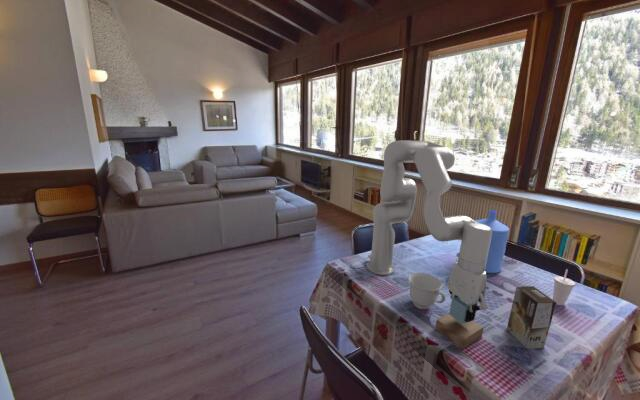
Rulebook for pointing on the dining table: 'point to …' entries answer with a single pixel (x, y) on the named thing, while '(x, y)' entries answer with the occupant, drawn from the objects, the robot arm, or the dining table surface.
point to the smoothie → (562, 289)
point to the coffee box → (531, 316)
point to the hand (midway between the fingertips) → (461, 314)
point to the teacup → (425, 290)
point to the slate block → (459, 309)
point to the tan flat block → (459, 330)
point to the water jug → (495, 242)
